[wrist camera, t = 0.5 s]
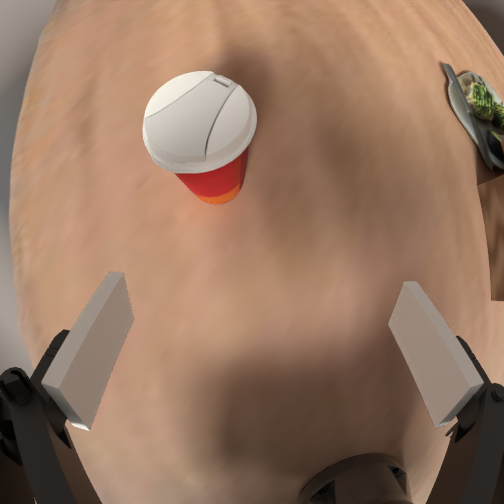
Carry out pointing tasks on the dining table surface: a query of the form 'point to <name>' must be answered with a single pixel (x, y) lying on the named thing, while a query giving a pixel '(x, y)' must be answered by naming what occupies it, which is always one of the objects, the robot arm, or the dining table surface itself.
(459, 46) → the dining table surface
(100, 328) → the robot arm
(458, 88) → the salad plate
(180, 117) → the paper cup
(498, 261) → the block
